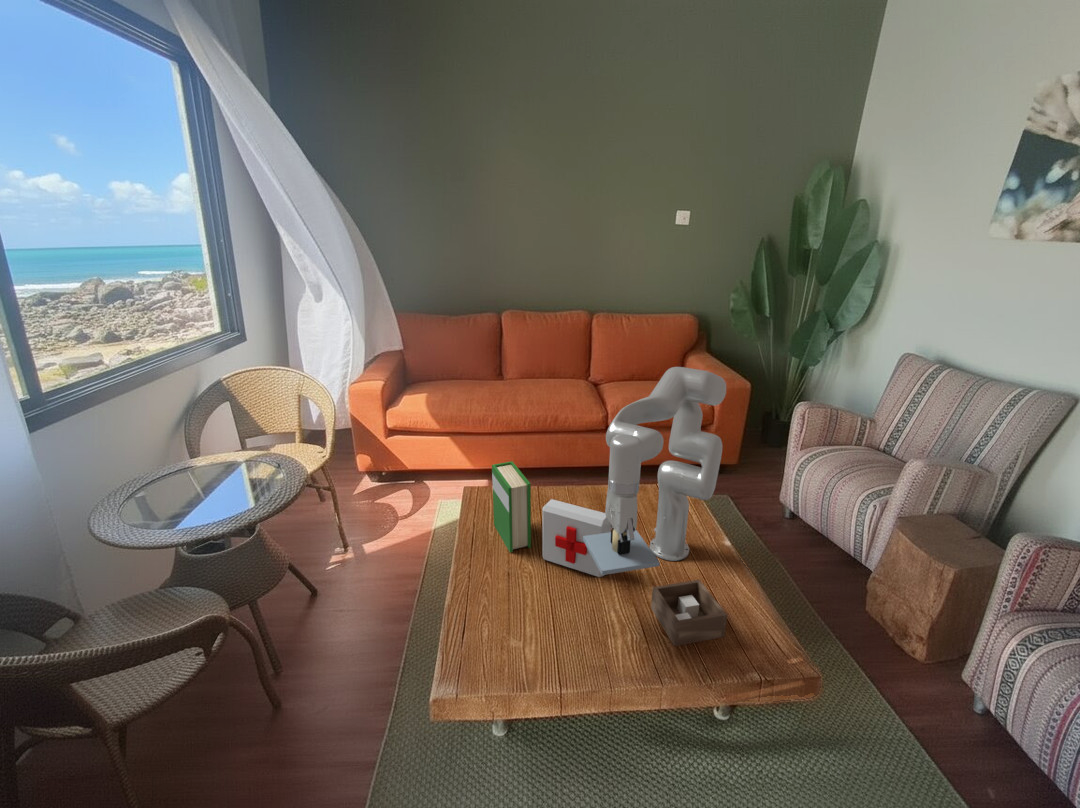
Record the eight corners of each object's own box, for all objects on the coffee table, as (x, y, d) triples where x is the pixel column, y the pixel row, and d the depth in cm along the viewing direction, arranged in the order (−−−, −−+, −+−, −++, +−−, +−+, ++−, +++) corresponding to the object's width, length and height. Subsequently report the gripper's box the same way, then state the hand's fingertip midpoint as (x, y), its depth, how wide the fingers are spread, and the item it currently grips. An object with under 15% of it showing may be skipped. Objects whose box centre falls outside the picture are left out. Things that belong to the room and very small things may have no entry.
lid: (582, 539, 137) (583, 519, 135) (635, 532, 141) (636, 512, 139) (602, 575, 124) (603, 553, 122) (659, 566, 127) (661, 544, 125)
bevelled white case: (538, 563, 163) (538, 508, 156) (550, 549, 170) (550, 496, 163) (600, 583, 154) (603, 525, 147) (610, 568, 160) (613, 512, 154)
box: (650, 610, 143) (652, 587, 140) (696, 602, 146) (699, 579, 143) (674, 649, 130) (676, 623, 127) (723, 639, 133) (727, 614, 130)
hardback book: (531, 548, 171) (530, 483, 163) (510, 553, 168) (508, 488, 160) (513, 521, 186) (512, 461, 178) (494, 525, 183) (491, 464, 175)
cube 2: (672, 627, 136) (673, 615, 134) (686, 624, 136) (687, 612, 135) (679, 638, 132) (681, 626, 131) (693, 635, 133) (695, 623, 131)
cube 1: (677, 608, 142) (678, 597, 141) (690, 606, 143) (691, 594, 142) (684, 619, 138) (685, 607, 137) (697, 616, 139) (699, 604, 138)
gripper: (597, 470, 133) (595, 531, 139) (622, 503, 117) (618, 570, 123) (625, 467, 134) (621, 528, 140) (652, 499, 119) (647, 565, 125)
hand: (619, 547), depth 132 cm, fingers closed on lid, 4 cm apart
